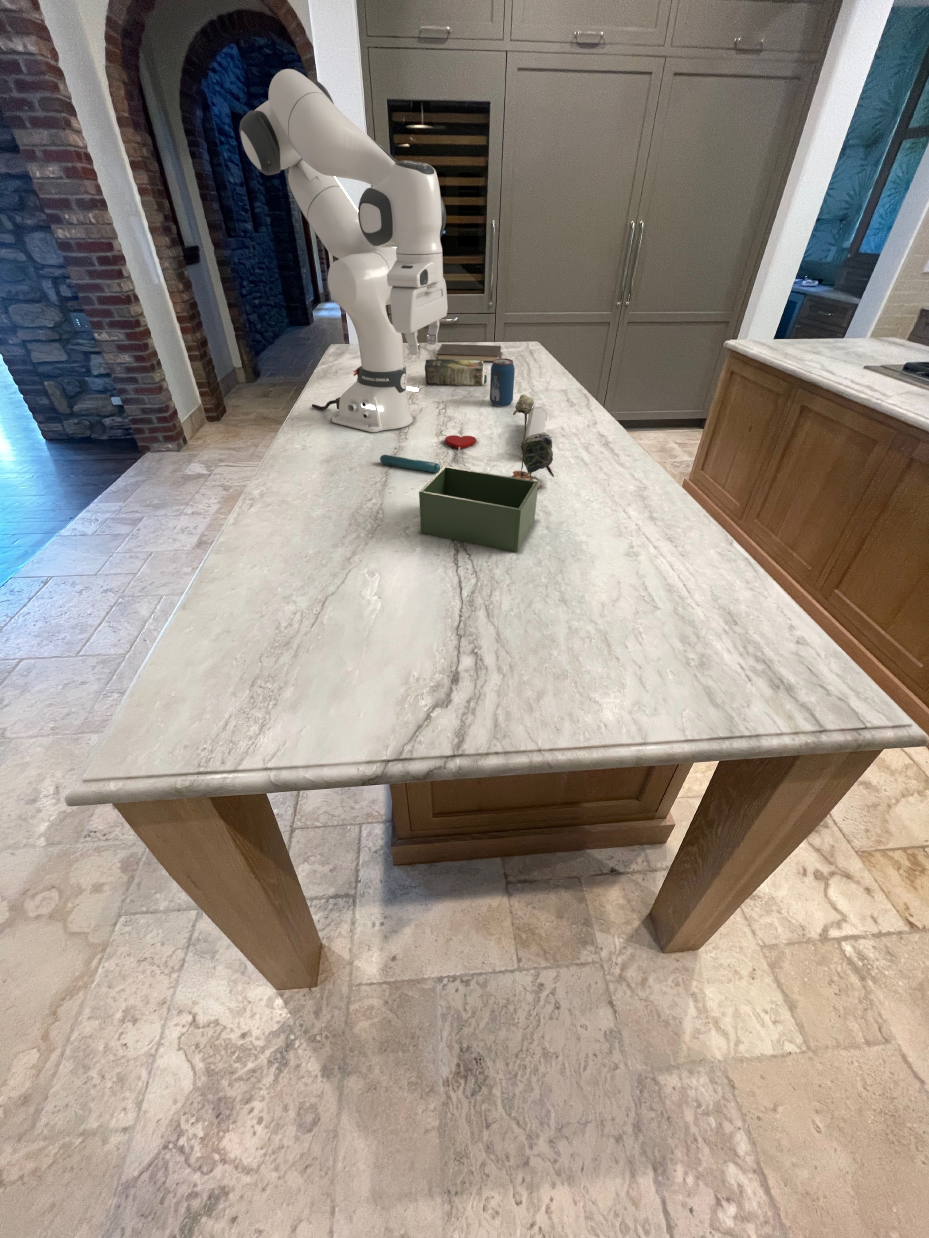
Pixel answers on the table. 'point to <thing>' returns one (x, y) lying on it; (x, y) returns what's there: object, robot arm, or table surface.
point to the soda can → (502, 382)
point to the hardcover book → (469, 352)
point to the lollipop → (460, 442)
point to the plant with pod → (533, 446)
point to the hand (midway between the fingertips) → (423, 349)
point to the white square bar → (536, 421)
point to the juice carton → (455, 372)
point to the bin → (478, 507)
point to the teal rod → (410, 463)
